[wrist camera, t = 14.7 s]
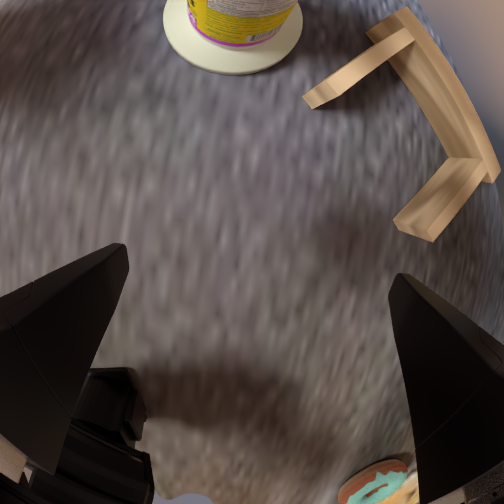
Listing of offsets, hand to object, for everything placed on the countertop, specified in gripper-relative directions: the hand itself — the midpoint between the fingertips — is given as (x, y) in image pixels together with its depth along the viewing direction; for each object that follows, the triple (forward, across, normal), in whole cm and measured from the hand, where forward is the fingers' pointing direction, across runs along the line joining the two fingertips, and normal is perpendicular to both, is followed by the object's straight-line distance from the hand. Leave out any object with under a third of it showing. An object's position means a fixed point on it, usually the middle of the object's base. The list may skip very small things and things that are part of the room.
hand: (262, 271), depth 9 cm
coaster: (+16, +4, -11) cm, 19 cm away
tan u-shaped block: (+16, -10, -4) cm, 20 cm away
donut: (+5, -22, +42) cm, 47 cm away
